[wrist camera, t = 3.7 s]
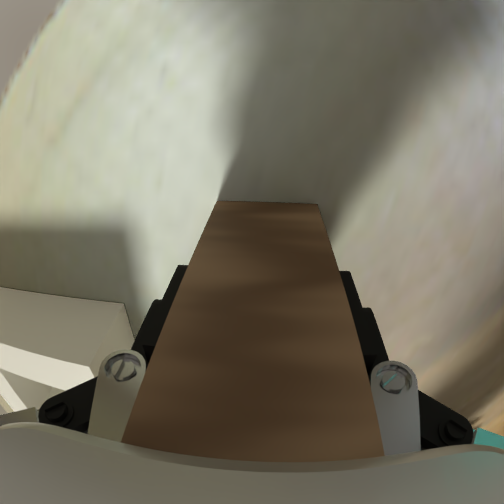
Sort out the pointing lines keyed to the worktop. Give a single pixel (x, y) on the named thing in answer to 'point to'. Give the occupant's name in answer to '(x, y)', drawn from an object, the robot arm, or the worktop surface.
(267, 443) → the peg
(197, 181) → the worktop surface
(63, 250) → the worktop surface
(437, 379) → the worktop surface
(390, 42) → the worktop surface
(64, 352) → the socket block
